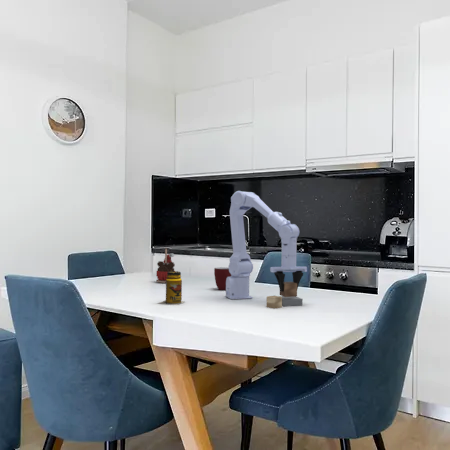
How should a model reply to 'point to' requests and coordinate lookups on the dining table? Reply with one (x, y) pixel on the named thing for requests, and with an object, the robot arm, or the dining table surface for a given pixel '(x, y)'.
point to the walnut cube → (289, 289)
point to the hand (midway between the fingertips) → (288, 290)
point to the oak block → (274, 302)
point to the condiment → (173, 288)
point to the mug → (221, 277)
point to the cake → (164, 267)
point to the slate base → (291, 301)
